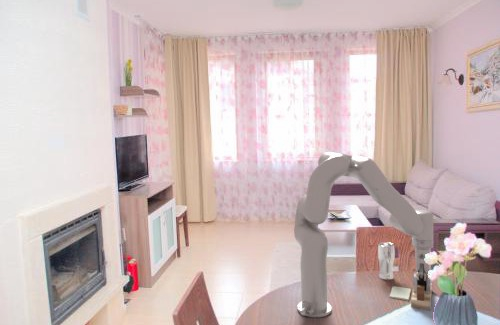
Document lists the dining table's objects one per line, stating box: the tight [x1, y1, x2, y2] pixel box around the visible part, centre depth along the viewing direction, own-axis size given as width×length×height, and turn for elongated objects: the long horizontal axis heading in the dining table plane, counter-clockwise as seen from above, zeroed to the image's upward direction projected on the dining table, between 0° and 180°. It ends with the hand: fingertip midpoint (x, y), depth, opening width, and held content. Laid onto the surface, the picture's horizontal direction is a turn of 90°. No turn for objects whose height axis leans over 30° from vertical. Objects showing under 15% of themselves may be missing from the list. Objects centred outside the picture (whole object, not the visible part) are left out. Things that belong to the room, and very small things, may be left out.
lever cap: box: [412, 272, 432, 294], centre depth 151 cm, size 4×6×7 cm
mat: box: [389, 286, 412, 301], centre depth 156 cm, size 10×7×1 cm
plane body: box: [410, 282, 433, 311], centre depth 151 cm, size 18×6×8 cm, turn 153°
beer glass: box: [377, 241, 396, 281], centre depth 172 cm, size 7×7×15 cm
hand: (422, 285), depth 151 cm, fingers open, 9 cm apart
